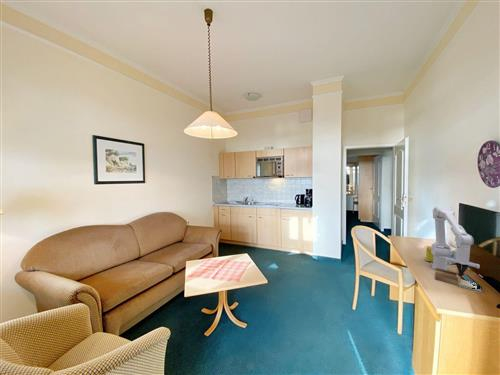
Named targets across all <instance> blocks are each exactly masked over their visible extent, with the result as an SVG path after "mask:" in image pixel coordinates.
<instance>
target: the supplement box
mask: <svg viewBox="0 0 500 375" xmlns="http://www.w3.org/2000/svg"><path fill="white" fill-rule="evenodd" d="M431 246H432V245H431ZM431 246H429V245H426V256H425V261H426V262H427V263H432V264H433V259H434V255H433V254H432V253H431Z"/></svg>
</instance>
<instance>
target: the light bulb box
mask: <svg viewBox="0 0 500 375" xmlns="http://www.w3.org/2000/svg"><path fill="white" fill-rule="evenodd" d="M444 248H445V247H444ZM450 249H451V252H452V254H451V256H450V257H449V258H453V259H456V250H457V247H456V248H455V247H451V246H450ZM453 264H455V263H453V262H449V261H448V262H447V265H453Z"/></svg>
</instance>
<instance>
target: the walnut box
mask: <svg viewBox="0 0 500 375" xmlns="http://www.w3.org/2000/svg"><path fill="white" fill-rule="evenodd" d="M434 275H435V276H434V279H435V280H436V281H440V282H444V283H447V284H451V285H453V286H458V283H457V282H458V278H457V276H458V272H456V271H451V270H448V269H447V270H444V269H439V268H436V269H435V274H434Z"/></svg>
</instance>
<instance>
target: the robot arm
mask: <svg viewBox="0 0 500 375" xmlns="http://www.w3.org/2000/svg"><path fill="white" fill-rule="evenodd" d="M455 213H456V212H455V210H454V209H453V208H452V207H439V206H435V207H433V209H432V218H433V219H434V224H435V229H434V231H435V242H434V243H432V244H431V253H432V254H433V255H434V259H433V263H432V265H431V268H432V269H434V270H436V268H439V269H444V270H448V264H447V262H448V261H449V262H453V263H454V264H455V266H456V268H457V270H458V276H460V277H463V276H464V274H465V272H466V271H467V270H468V268H469V267H473V268H476V269H480V264H478V263H476V262H473V261H470V254H471V246H473V245H474V242H475V240H474V237H473V236H472V235H470V234H468V233H467V232H466V230H465V228H464V227H463V226H462V225H460V224H459V223H458V220H457V219H456V216H455ZM446 221H447V223H448V224H449V225H450V226H451V227H450V231H451V232H452V233H453V235H454V236H455V237H454V241H455V246H456V249H457V250H456V259H453V258H449V257H450V256H451V254H452V252H451V249H450V247H451V246H450V245H449V244H447V240H446V226H445V222H446ZM444 247H445V248H444Z"/></svg>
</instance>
